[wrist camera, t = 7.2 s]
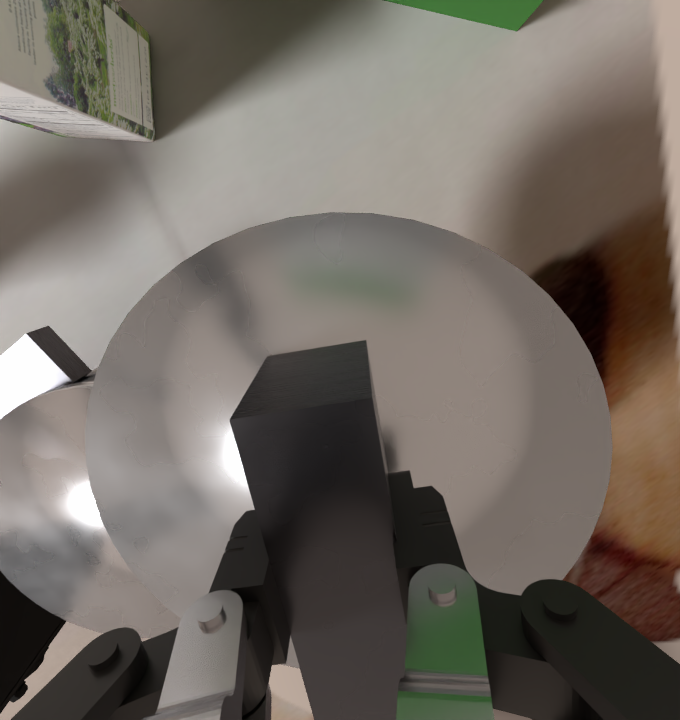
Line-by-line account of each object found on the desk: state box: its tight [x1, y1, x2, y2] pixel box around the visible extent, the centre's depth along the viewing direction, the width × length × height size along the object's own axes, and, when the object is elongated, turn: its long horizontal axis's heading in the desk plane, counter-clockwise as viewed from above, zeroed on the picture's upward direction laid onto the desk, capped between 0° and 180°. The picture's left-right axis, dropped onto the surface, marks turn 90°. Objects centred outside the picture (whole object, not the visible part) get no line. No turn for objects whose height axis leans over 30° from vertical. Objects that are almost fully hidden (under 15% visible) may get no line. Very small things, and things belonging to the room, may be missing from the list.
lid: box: [85, 213, 612, 720], centre depth 12 cm, size 16×16×5 cm
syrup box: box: [0, 0, 155, 142], centre depth 19 cm, size 6×6×14 cm
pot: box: [0, 326, 181, 638], centre depth 27 cm, size 19×15×11 cm
